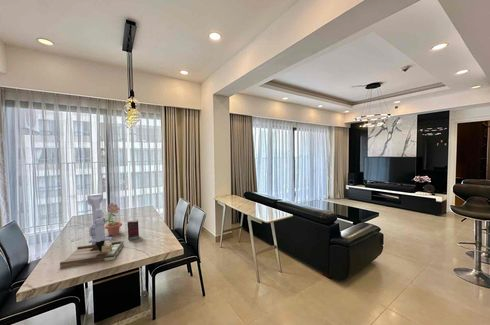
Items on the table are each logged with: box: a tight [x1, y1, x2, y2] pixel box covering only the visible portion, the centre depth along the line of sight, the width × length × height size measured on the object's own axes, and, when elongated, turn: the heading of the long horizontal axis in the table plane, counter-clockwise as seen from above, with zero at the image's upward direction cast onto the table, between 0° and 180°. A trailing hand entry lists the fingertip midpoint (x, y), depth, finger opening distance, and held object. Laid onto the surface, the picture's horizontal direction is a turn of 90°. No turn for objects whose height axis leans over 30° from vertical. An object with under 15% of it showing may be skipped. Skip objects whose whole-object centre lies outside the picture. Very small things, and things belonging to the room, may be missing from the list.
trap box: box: [59, 240, 125, 268], centre depth 150 cm, size 24×32×4 cm
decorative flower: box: [104, 202, 123, 236], centre depth 188 cm, size 15×14×30 cm
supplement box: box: [127, 219, 140, 241], centre depth 179 cm, size 9×5×16 cm, turn 120°
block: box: [102, 242, 112, 253], centre depth 152 cm, size 5×5×5 cm
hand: (100, 250), depth 151 cm, fingers closed
